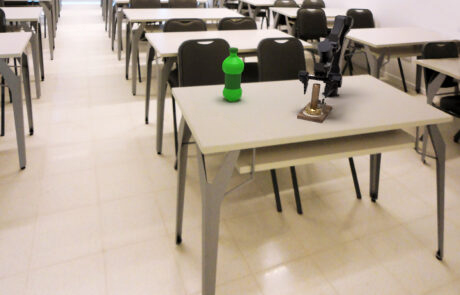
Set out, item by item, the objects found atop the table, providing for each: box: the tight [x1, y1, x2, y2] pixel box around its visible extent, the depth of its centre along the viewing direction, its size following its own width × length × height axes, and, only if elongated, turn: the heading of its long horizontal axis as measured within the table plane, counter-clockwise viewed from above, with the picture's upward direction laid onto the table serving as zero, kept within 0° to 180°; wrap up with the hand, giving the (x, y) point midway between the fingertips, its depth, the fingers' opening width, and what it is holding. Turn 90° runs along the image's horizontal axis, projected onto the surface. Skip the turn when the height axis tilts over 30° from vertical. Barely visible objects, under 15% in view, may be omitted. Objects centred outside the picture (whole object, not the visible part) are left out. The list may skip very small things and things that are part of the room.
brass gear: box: [305, 82, 322, 116], centre depth 162 cm, size 7×7×13 cm
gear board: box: [296, 97, 333, 124], centre depth 168 cm, size 20×11×6 cm, turn 153°
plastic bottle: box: [221, 46, 245, 102], centre depth 178 cm, size 10×10×25 cm
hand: (314, 95), depth 161 cm, fingers open, 9 cm apart
